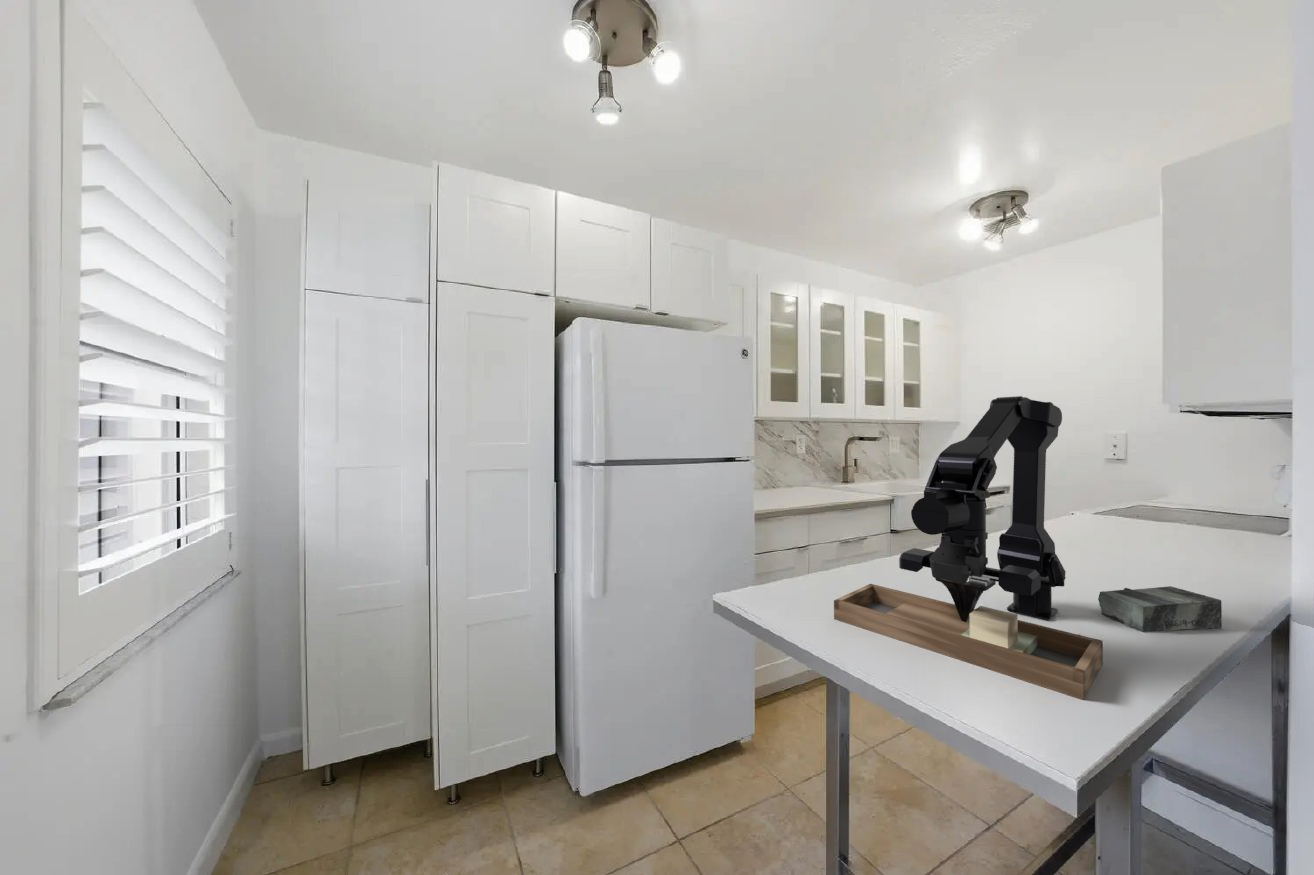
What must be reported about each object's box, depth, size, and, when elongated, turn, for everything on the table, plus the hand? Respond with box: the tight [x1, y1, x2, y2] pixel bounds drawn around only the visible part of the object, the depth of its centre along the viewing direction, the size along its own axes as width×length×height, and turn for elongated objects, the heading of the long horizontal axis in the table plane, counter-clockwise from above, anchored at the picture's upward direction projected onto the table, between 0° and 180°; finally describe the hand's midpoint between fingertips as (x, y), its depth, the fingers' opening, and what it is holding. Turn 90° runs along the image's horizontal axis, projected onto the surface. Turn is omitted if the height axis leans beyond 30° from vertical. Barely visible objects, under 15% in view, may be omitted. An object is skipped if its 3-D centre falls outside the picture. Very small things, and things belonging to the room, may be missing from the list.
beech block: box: [970, 605, 1019, 649], centre depth 74 cm, size 5×5×4 cm
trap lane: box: [833, 583, 1104, 700], centre depth 79 cm, size 14×35×4 cm, turn 39°
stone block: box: [1097, 585, 1223, 633], centre depth 84 cm, size 9×14×5 cm, turn 92°
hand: (965, 621), depth 77 cm, fingers closed
